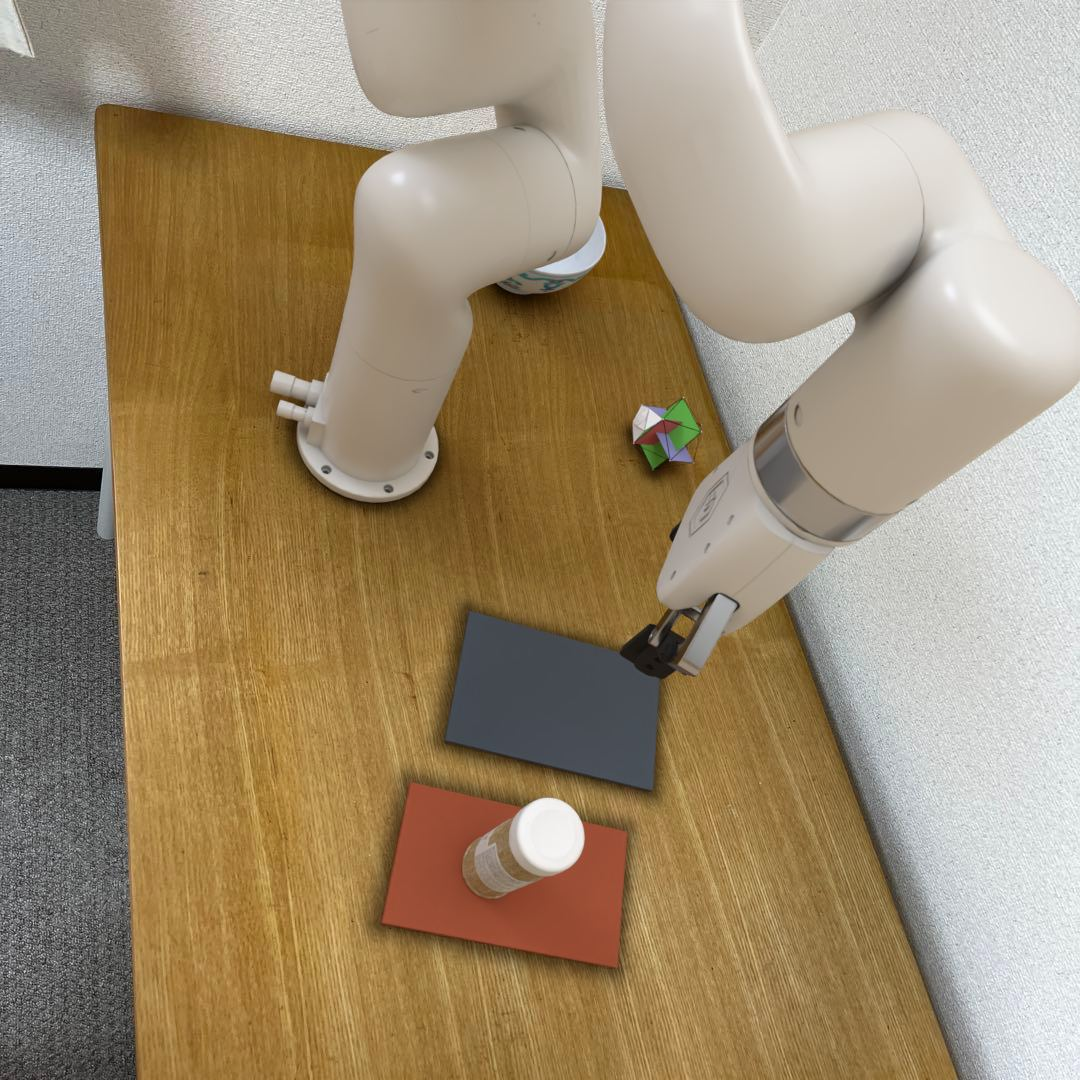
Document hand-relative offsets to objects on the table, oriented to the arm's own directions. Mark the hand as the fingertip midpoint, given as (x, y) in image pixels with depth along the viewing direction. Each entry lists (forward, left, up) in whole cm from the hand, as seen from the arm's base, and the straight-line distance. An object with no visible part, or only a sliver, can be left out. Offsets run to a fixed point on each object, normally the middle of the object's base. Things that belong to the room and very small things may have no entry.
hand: (665, 602), depth 58 cm
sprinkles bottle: (-3, -14, -21) cm, 25 cm away
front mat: (-1, -14, -21) cm, 26 cm away
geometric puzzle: (+8, +30, -22) cm, 38 cm away
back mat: (+1, 0, -21) cm, 21 cm away
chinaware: (-10, +48, -22) cm, 54 cm away
